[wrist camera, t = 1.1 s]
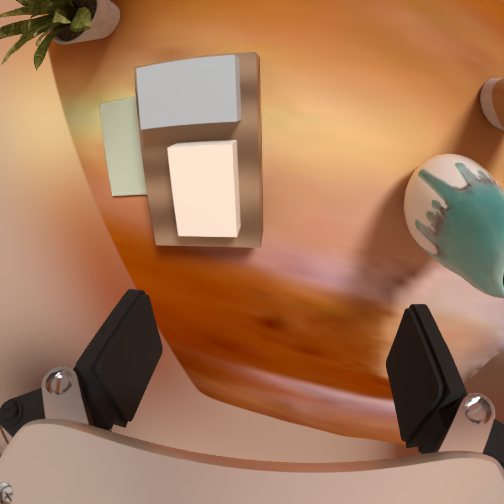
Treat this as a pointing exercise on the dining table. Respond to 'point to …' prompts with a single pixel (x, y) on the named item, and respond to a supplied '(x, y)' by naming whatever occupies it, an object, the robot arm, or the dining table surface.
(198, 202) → the cream block
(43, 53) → the house plant
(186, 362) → the dining table surface
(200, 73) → the gray rectangular block
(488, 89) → the coffee cup
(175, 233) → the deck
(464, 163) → the vase
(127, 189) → the mat
